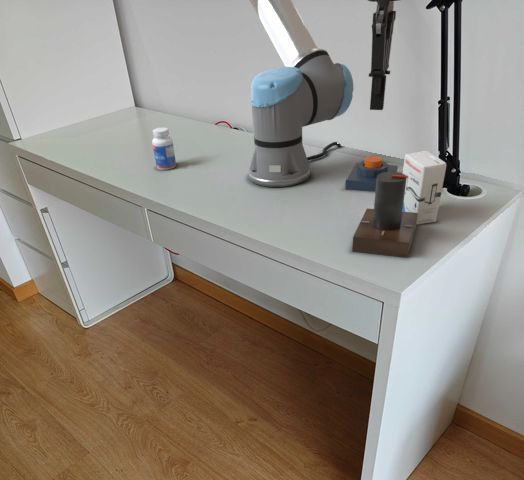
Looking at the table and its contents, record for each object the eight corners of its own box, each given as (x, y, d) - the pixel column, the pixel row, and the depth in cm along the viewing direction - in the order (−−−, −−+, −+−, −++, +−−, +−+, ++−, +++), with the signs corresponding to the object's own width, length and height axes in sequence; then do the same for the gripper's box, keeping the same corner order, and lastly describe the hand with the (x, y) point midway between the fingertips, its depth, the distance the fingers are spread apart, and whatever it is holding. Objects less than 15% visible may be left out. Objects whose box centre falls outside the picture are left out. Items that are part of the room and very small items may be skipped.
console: (365, 222, 102) (366, 207, 100) (415, 227, 99) (418, 212, 97) (352, 251, 93) (353, 235, 91) (407, 257, 90) (409, 241, 88)
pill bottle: (152, 168, 136) (145, 130, 130) (166, 162, 139) (159, 125, 133) (166, 171, 133) (160, 133, 127) (180, 165, 136) (174, 127, 130)
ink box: (396, 209, 106) (403, 152, 99) (418, 205, 107) (426, 149, 99) (414, 225, 99) (423, 166, 92) (437, 222, 100) (448, 162, 93)
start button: (366, 163, 119) (366, 155, 118) (382, 164, 118) (383, 156, 117) (362, 168, 116) (363, 161, 115) (379, 169, 115) (380, 162, 114)
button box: (356, 171, 125) (357, 155, 122) (396, 174, 122) (398, 157, 119) (345, 189, 116) (346, 172, 114) (388, 192, 113) (390, 175, 111)
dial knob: (370, 228, 93) (374, 179, 87) (375, 217, 97) (379, 169, 91) (398, 231, 91) (404, 181, 85) (402, 219, 95) (408, 171, 89)
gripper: (403, -24, 88) (389, 117, 103) (412, -29, 98) (398, 102, 113) (361, -22, 91) (353, 116, 106) (374, -27, 100) (365, 101, 115)
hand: (376, 108), depth 109 cm, fingers closed
